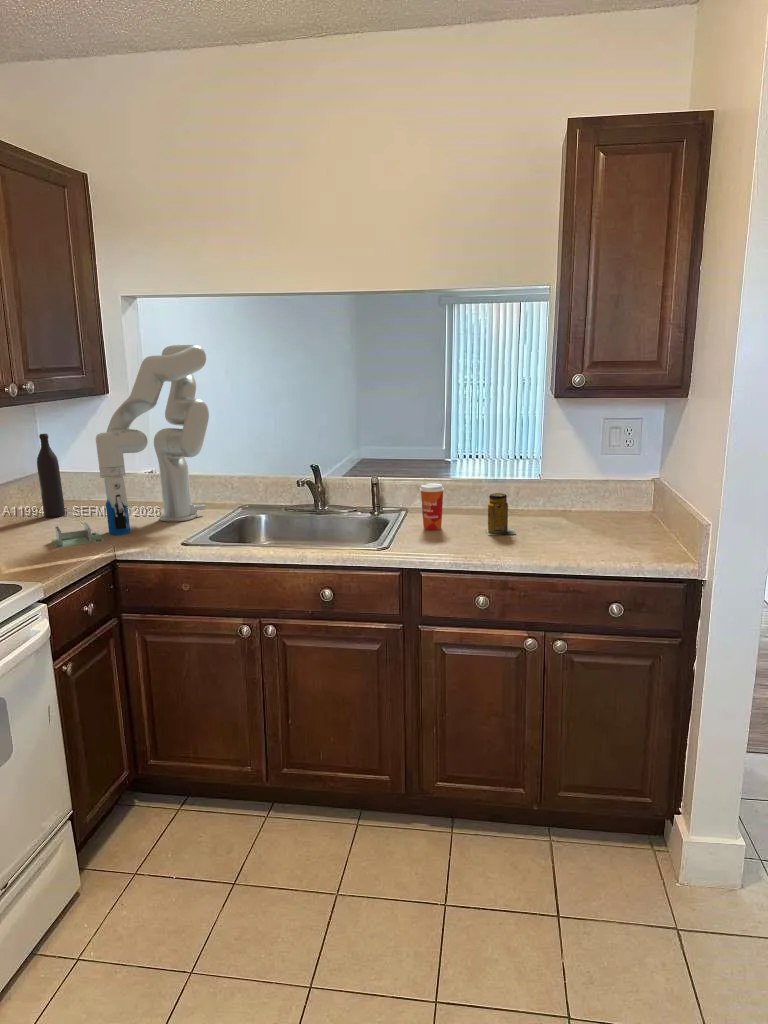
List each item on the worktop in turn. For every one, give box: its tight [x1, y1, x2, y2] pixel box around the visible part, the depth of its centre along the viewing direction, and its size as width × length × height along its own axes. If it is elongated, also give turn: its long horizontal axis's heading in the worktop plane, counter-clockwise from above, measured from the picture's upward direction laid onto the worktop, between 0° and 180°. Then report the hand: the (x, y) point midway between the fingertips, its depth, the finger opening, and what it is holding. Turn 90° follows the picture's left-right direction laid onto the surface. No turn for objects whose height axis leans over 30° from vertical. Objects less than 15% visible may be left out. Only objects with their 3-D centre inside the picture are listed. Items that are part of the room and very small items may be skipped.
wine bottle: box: [36, 433, 66, 519], centre depth 257 cm, size 7×7×30 cm
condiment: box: [485, 492, 517, 536], centre depth 219 cm, size 7×8×12 cm
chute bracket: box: [55, 521, 92, 546], centre depth 221 cm, size 9×9×4 cm
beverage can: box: [105, 498, 131, 536], centre depth 229 cm, size 6×6×12 cm
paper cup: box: [419, 482, 445, 531], centre depth 226 cm, size 8×8×14 cm
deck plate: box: [51, 532, 105, 550], centre depth 223 cm, size 14×12×1 cm
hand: (119, 525), depth 230 cm, fingers closed on beverage can, 6 cm apart
